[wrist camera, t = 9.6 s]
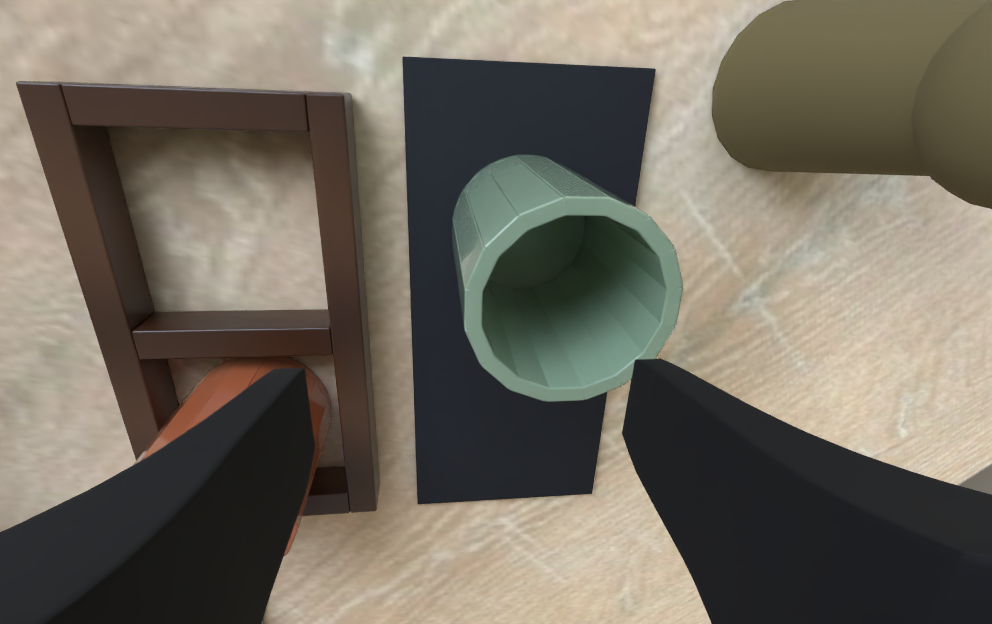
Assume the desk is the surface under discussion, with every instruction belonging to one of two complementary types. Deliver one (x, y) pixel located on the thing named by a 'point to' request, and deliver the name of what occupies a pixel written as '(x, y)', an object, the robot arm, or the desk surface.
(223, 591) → the robot arm
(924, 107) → the olive pepper mill
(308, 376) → the terracotta cup
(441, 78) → the desk mat
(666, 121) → the desk surface
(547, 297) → the cup
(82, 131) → the holder
